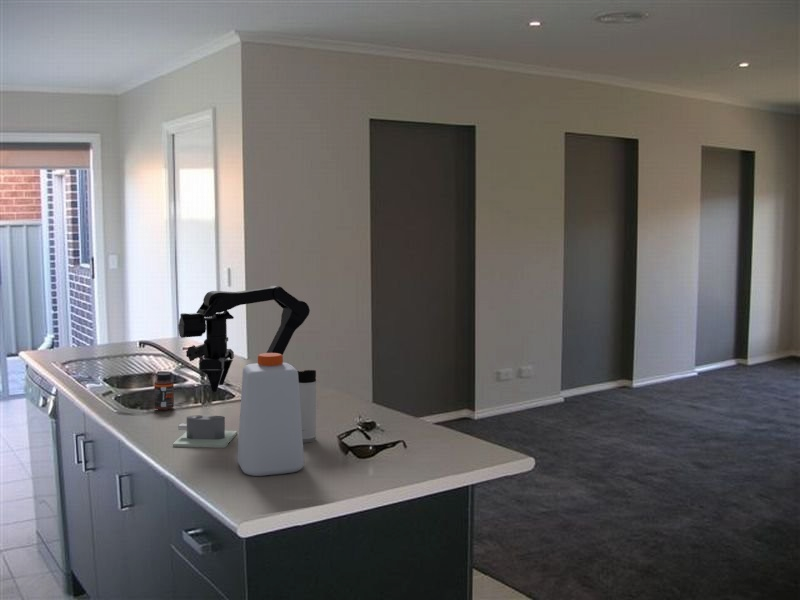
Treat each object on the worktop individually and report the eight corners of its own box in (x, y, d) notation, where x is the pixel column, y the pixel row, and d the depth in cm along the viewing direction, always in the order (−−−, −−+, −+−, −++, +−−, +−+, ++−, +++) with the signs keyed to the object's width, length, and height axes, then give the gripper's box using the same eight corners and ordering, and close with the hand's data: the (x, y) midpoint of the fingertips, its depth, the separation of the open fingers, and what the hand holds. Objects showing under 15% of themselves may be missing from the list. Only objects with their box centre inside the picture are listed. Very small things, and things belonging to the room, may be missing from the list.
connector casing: (226, 435, 217) (226, 415, 216) (222, 439, 213) (222, 419, 212) (182, 434, 217) (181, 414, 217) (177, 438, 213) (177, 418, 212)
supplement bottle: (168, 411, 247) (167, 375, 246) (150, 409, 248) (150, 374, 247) (177, 406, 253) (176, 372, 251) (160, 405, 254) (159, 371, 253)
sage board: (237, 433, 222) (237, 430, 222) (224, 447, 208) (224, 444, 208) (188, 432, 222) (188, 429, 222) (172, 446, 208) (172, 443, 208)
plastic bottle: (307, 472, 188) (308, 358, 185) (244, 479, 183) (244, 361, 180) (293, 455, 202) (293, 348, 199) (234, 460, 197) (234, 351, 194)
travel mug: (298, 444, 212) (298, 371, 210) (289, 438, 218) (290, 367, 216) (319, 441, 215) (320, 370, 213) (310, 435, 221) (311, 366, 219)
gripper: (196, 330, 234) (197, 381, 235) (180, 340, 215) (181, 395, 217) (233, 330, 234) (234, 381, 236) (220, 340, 215) (222, 395, 217)
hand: (217, 388), depth 226 cm, fingers open, 9 cm apart
